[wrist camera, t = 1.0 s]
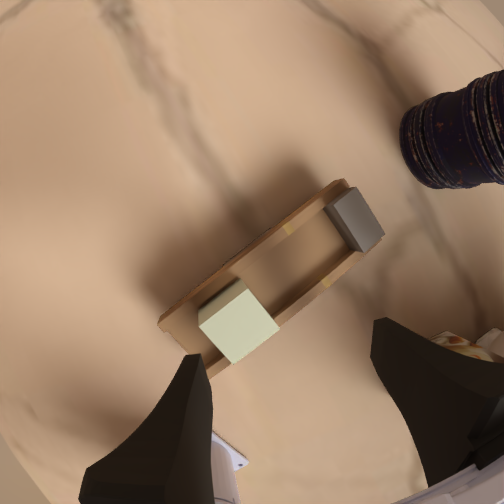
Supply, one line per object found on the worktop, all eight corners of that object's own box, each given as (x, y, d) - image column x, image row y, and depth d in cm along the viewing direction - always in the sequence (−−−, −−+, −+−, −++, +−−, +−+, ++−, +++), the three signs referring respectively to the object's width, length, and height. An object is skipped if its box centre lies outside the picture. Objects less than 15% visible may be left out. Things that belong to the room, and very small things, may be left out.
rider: (227, 344, 24) (233, 364, 20) (198, 310, 23) (198, 326, 20) (268, 313, 24) (280, 328, 21) (240, 277, 24) (247, 288, 20)
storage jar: (391, 98, 28) (493, 46, 13) (452, 110, 29) (546, 80, 15) (404, 190, 29) (524, 181, 14) (464, 190, 31) (567, 187, 16)
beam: (206, 359, 27) (209, 388, 22) (162, 309, 26) (154, 330, 21) (359, 236, 29) (391, 240, 23) (324, 182, 27) (352, 175, 22)
